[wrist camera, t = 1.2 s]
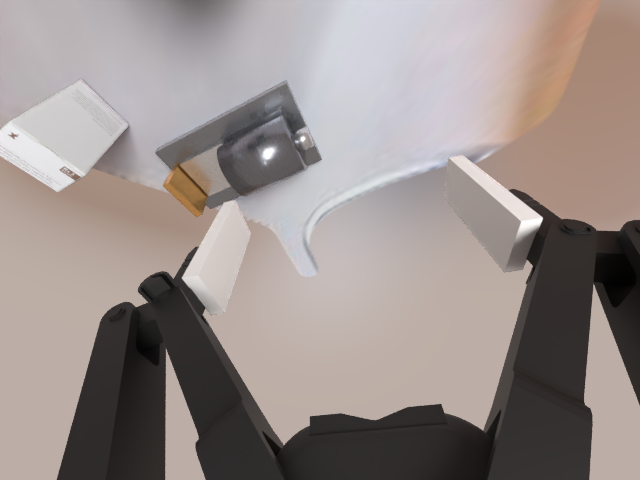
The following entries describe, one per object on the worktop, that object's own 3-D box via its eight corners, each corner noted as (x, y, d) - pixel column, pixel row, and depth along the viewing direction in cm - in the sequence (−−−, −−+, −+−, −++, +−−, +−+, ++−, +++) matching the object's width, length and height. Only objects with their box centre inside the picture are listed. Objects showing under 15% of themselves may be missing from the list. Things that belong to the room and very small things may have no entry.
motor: (157, 148, 35) (134, 181, 30) (288, 79, 31) (290, 102, 26) (211, 204, 43) (201, 239, 37) (322, 155, 39) (329, 186, 33)
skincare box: (57, 96, 30) (-29, 144, 22) (83, 76, 29) (3, 118, 20) (109, 141, 34) (55, 196, 26) (134, 125, 33) (85, 176, 25)
